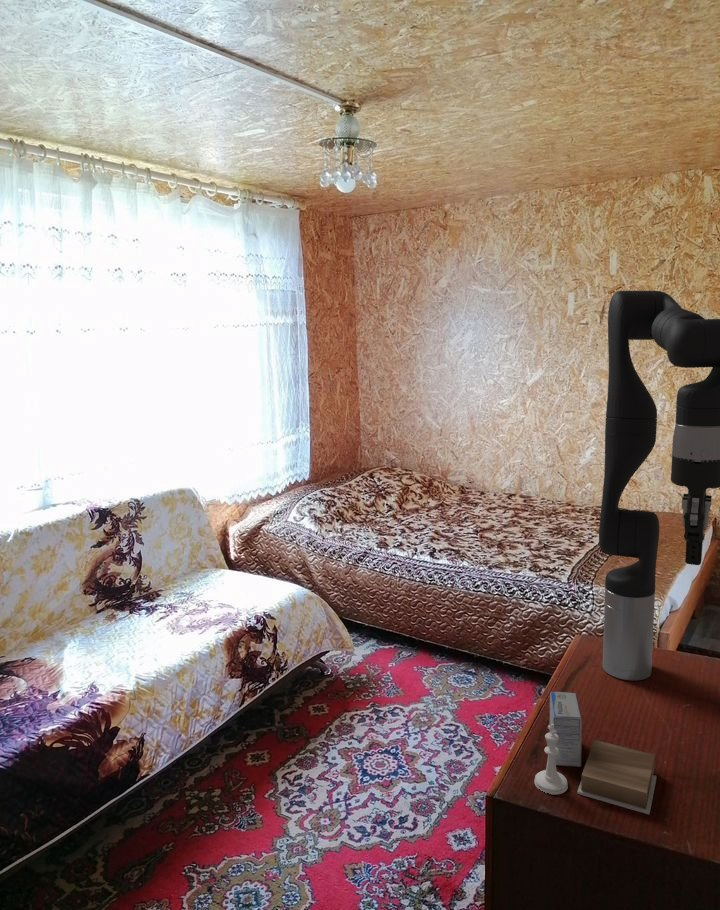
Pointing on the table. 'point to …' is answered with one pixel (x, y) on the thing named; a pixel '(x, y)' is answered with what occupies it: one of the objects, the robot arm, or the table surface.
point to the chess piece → (551, 768)
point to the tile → (618, 773)
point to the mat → (622, 804)
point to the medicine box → (566, 727)
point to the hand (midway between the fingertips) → (693, 563)
